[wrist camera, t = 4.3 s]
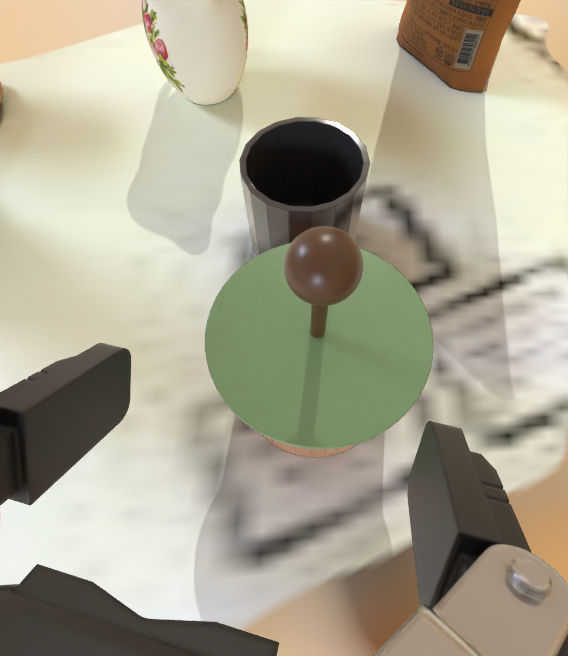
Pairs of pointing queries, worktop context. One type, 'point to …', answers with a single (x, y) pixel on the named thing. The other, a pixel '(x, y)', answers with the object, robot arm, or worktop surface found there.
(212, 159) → the worktop surface
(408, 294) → the lid
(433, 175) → the worktop surface
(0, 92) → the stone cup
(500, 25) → the pancake mix bag
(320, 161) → the cup
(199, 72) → the pitcher
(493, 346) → the worktop surface
